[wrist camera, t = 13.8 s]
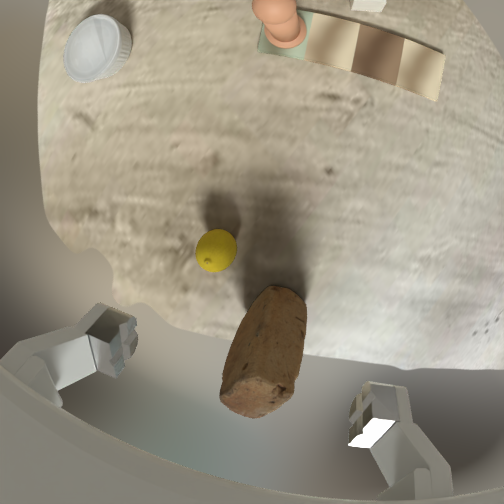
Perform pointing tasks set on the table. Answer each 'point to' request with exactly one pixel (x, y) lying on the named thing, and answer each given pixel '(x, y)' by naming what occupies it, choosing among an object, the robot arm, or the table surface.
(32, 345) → the robot arm
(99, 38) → the ramekin
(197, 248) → the lemon
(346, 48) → the board
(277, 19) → the round-topped peg
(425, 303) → the table surface
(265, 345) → the block
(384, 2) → the die
